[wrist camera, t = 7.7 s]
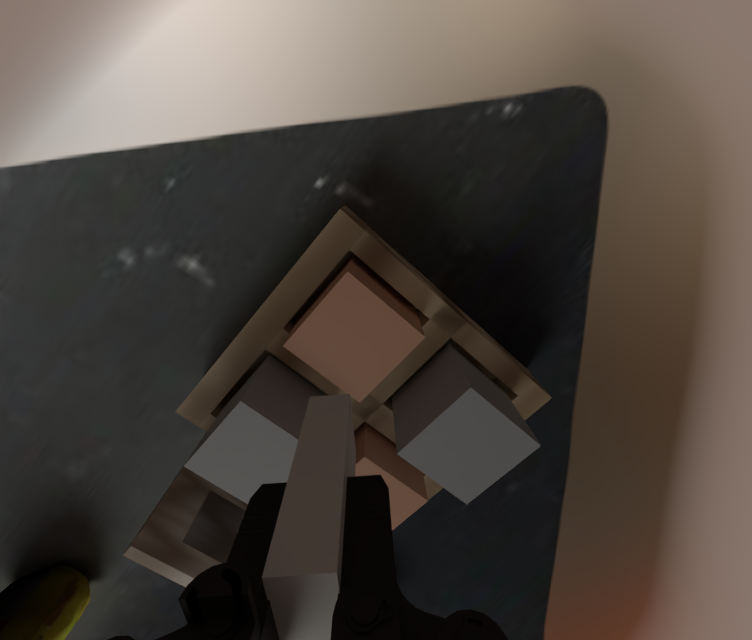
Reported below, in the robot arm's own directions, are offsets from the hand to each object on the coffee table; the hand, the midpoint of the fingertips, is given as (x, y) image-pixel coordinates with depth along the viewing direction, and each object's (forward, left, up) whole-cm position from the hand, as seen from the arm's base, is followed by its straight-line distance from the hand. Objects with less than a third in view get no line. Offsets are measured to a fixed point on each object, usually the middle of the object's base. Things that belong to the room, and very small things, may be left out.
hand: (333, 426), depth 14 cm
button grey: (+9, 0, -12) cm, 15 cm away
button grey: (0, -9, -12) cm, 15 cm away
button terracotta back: (+9, -9, -14) cm, 19 cm away
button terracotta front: (0, 0, -14) cm, 14 cm away
